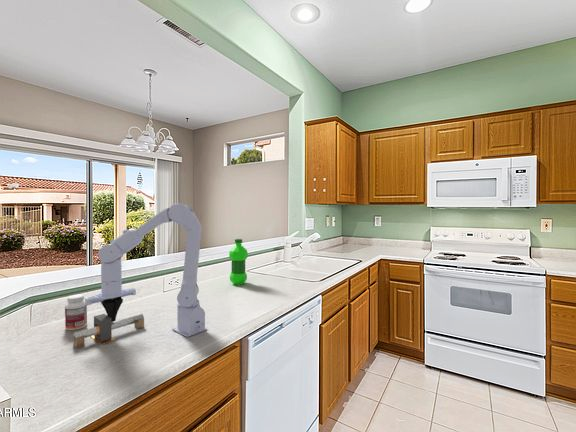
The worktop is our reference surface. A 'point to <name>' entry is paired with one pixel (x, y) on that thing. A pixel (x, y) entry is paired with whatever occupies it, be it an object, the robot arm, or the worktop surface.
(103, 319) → the collar
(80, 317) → the pill bottle
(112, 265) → the robot arm
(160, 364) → the worktop surface
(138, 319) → the rail
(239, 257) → the plastic bottle
